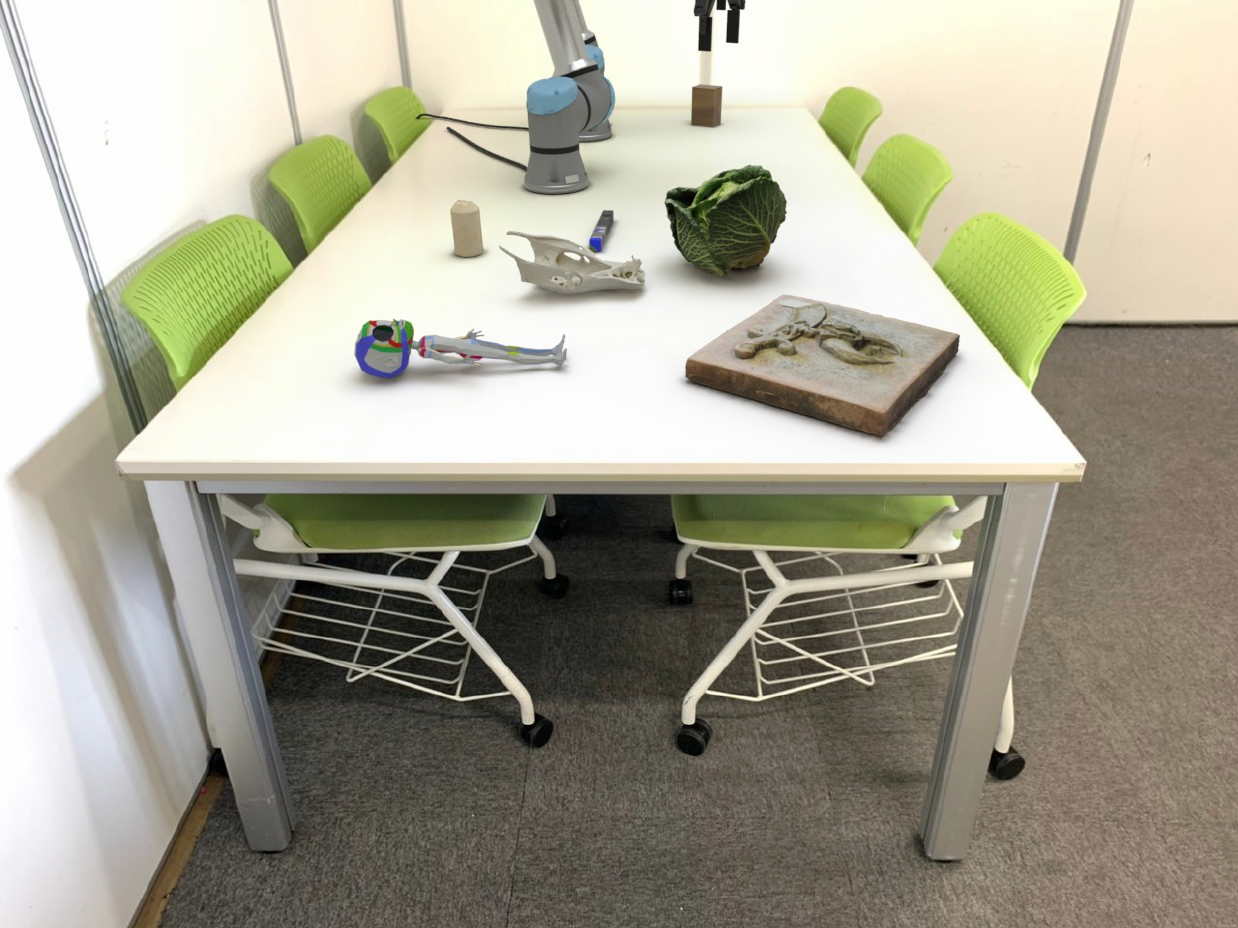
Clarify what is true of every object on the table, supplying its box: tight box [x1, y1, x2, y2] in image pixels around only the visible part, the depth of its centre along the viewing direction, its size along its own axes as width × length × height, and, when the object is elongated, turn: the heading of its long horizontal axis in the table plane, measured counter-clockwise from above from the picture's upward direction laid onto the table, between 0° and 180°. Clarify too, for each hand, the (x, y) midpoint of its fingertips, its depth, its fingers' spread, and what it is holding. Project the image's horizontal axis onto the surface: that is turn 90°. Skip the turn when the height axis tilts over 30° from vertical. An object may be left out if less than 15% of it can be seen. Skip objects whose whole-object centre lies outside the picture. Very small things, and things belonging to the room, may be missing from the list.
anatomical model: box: [498, 230, 646, 295], centre depth 156 cm, size 15×9×25 cm
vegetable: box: [664, 164, 788, 278], centre depth 161 cm, size 20×19×20 cm
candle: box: [449, 199, 484, 258], centre depth 172 cm, size 6×6×10 cm
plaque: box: [684, 294, 961, 438], centre depth 129 cm, size 30×7×30 cm
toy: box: [353, 318, 568, 379], centre depth 130 cm, size 10×8×30 cm
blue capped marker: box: [588, 209, 615, 252], centre depth 182 cm, size 2×2×20 cm
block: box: [690, 83, 723, 128], centre depth 268 cm, size 5×7×11 cm
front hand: (718, 47), depth 194 cm, fingers open, 13 cm apart
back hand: (710, 12), depth 255 cm, fingers open, 13 cm apart
